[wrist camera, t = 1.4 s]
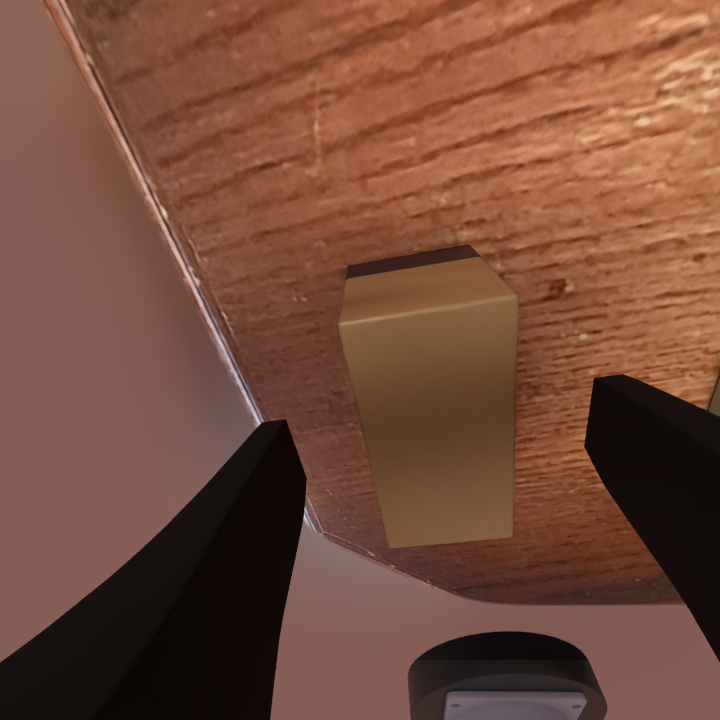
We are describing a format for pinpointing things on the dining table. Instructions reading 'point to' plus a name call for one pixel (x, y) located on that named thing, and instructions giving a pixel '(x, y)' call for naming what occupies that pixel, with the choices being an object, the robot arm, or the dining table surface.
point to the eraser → (435, 392)
